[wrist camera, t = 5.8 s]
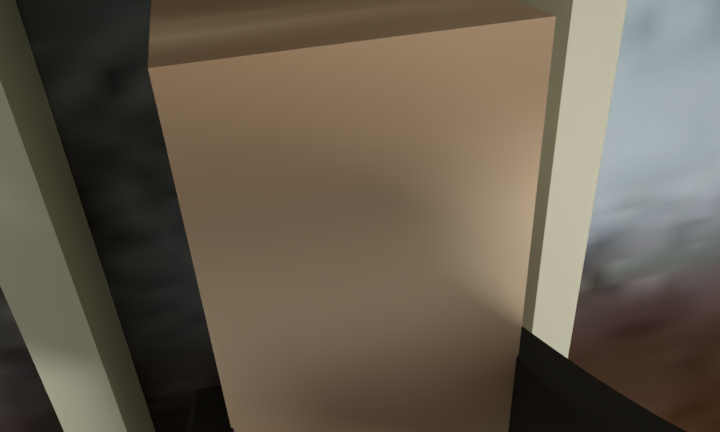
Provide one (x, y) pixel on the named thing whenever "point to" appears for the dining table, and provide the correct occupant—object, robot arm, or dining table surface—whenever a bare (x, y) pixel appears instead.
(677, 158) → the dining table surface
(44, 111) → the peg frame
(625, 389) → the dining table surface
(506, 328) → the board
